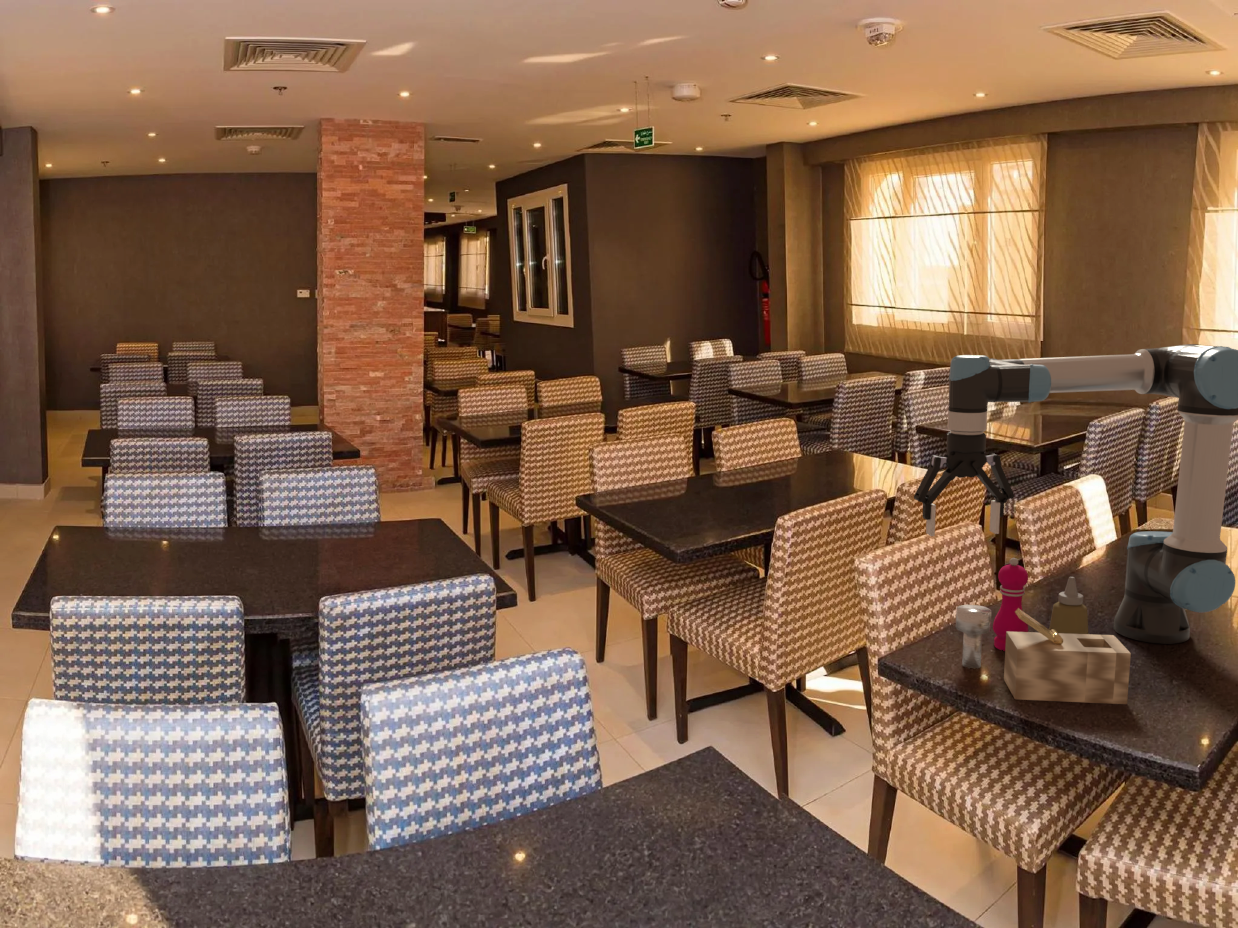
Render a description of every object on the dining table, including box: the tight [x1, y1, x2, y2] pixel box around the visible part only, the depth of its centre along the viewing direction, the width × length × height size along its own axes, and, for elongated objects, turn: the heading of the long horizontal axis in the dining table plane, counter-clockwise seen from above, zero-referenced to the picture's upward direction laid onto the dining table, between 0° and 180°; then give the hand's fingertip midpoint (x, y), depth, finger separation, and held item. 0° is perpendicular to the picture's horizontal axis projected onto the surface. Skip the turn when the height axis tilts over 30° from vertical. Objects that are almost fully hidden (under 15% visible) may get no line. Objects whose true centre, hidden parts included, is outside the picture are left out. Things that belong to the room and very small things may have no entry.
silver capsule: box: [955, 604, 993, 669], centre depth 210 cm, size 7×7×12 cm
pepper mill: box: [992, 557, 1029, 652], centre depth 220 cm, size 7×7×20 cm
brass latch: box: [1015, 608, 1063, 645], centre depth 196 cm, size 9×4×2 cm
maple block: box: [1003, 631, 1132, 705], centre depth 196 cm, size 20×10×10 cm, turn 81°
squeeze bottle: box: [1048, 576, 1089, 634], centre depth 211 cm, size 8×8×18 cm
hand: (962, 533), depth 211 cm, fingers open, 13 cm apart
